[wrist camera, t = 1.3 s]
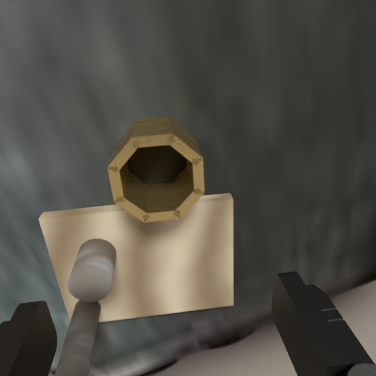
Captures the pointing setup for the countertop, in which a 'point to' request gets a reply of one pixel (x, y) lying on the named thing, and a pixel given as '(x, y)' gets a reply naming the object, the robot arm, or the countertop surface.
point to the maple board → (136, 267)
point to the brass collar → (160, 192)
